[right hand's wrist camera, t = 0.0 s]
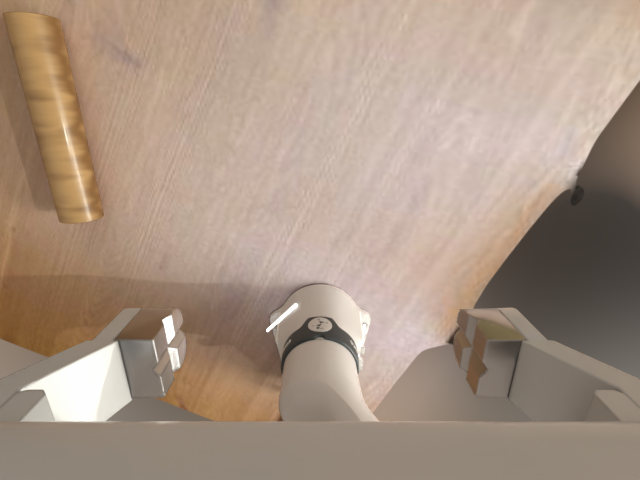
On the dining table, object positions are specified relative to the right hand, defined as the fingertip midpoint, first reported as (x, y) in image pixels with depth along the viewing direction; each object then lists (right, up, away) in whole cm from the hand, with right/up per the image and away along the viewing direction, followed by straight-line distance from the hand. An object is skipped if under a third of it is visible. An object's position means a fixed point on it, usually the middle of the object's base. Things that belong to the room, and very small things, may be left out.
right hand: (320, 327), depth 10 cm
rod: (-38, +20, +44) cm, 61 cm away
